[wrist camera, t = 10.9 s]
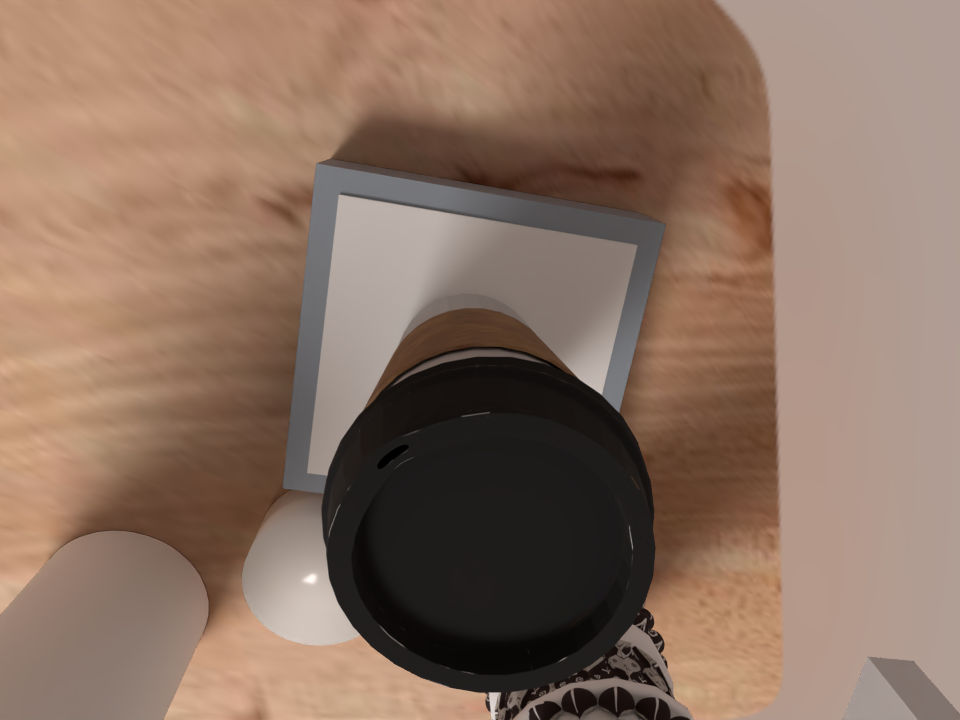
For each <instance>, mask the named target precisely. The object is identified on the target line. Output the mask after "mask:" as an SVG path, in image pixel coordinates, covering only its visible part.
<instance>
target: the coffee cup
mask: <svg viewBox="0 0 960 720" xmlns="http://www.w3.org/2000/svg"><path fill="white" fill-rule="evenodd" d="M321 513H322V529H323V539H324V543H325V546H326V558H327V566H328V574H329V581H330V583H331V586H332V589H333V591H334V594H335V597H336V599H337V602H338V604H339V606H340V607H341V609H342V611H343V612H344V614H345V615H346V617H347V618H348V620H349V621H350V623H351V625H352V626H353V627H354V629H355V630H356V631H357V632H358V633H359V634H360V635H361V636H362V637H363V638H364V639H365V640H366V641H367V642H368V643H369V644H370V646H371V647H373V648H374V649H375V650H377V651H378V652H379V653H381V654H382V655H383V656H385V657H386V658H387V659H389V660H390V661H391V662H393V663H394V664H396V665H397V666H399V667H401V668H403V669H405V670H407V671H409V672H411V673H413V674H415V675H417V676H419V677H421V678H423V679H426V680H429V681H432V682H435V683H438V684H441V685H444V686H446V687H449V688H455V689H461V690H467V691H473V692H479V693H509V692H516V691H522V690H528V689H534V688H539V687H542V686H545V685H548V684H551V683H554V682H557V681H560V680H563V679H566V678H568V677H570V676H572V675H574V674H575V673H577V672H579V671H581V670H583V669H585V668H587V667H588V666H590V665H592V664H593V663H594V662H596V661H597V660H598V659H599V658H601V657H602V656H603V655H604V654H605V653H607V652H608V651H609V650H610V649H612V648H613V647H614V646H615V645H616V643H617V642H618V641H619V640H620V639H621V638H622V636H623V635H624V634H625V633H626V632H627V631H628V629H629V628H630V627H631V626H632V624H633V622H634V620H635V619H636V617H637V615H638V613H639V611H640V610H641V608H642V606H643V604H644V603H645V600H646V597H647V593H648V590H649V587H650V584H651V581H652V577H653V571H654V558H655V541H654V534H653V520H654V506H653V497H652V489H651V481H650V478H649V476H648V473H647V469H646V466H645V463H644V460H643V457H642V454H641V451H640V448H639V445H638V442H637V440H636V438H635V437H634V435H633V433H632V432H631V430H630V428H629V427H628V425H627V423H626V422H625V420H624V419H623V417H622V416H621V414H620V413H619V412H618V411H617V410H616V409H615V408H614V407H613V406H612V405H611V404H610V403H609V402H608V401H607V400H606V399H605V398H604V397H603V396H602V395H601V394H600V393H598V392H597V391H596V390H594V389H593V388H591V387H590V386H588V385H587V384H585V383H584V382H582V381H581V380H580V379H579V378H578V377H577V376H576V375H575V374H574V373H573V372H572V371H571V370H570V369H569V368H568V367H567V366H566V365H565V364H564V363H563V362H562V361H561V360H560V359H559V358H558V357H557V356H556V355H555V353H554V352H553V351H552V350H551V349H550V348H549V347H548V346H547V345H546V344H545V343H544V342H543V341H542V340H541V339H540V338H539V337H538V336H537V335H536V334H535V333H534V332H533V331H532V329H531V328H530V327H529V326H528V325H527V323H526V322H525V321H524V320H523V319H522V318H521V317H520V316H519V315H518V314H517V313H516V312H515V311H514V310H512V309H511V308H509V307H508V306H506V305H505V304H503V303H501V302H499V301H497V300H494V299H492V298H489V297H485V296H480V295H457V296H451V297H447V298H444V299H442V300H439V301H437V302H434V303H433V304H431V305H430V306H428V307H426V308H425V309H423V310H422V311H421V312H420V313H419V314H418V315H417V316H416V317H415V318H414V319H413V320H412V321H411V323H410V324H409V326H408V327H407V328H406V330H405V331H404V333H403V335H402V338H401V340H400V342H399V345H398V347H397V349H396V350H395V352H394V353H393V355H392V357H391V359H390V361H389V363H388V365H387V366H386V368H385V370H384V372H383V374H382V376H381V378H380V380H379V381H378V383H377V385H376V387H375V389H374V391H373V393H372V395H371V396H370V398H369V400H368V402H367V404H366V406H365V408H364V409H363V411H362V412H361V413H360V414H359V415H358V417H357V418H356V419H355V421H354V422H353V424H352V425H351V427H350V428H349V429H348V431H347V432H346V434H345V435H344V437H343V438H342V439H341V441H340V443H339V446H338V448H337V450H336V453H335V455H334V457H333V460H332V462H331V464H330V467H329V470H328V475H327V478H326V483H325V489H324V495H323V501H322V507H321Z"/></svg>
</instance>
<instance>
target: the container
mask: <svg viewBox="0 0 960 720" xmlns="http://www.w3.org/2000/svg"><path fill="white" fill-rule="evenodd" d="M208 614H209V601H208V597H207V592H206V588H205V586H204V584H203V582H202V579H201V577H200V575H199V574H198V572H197V571H196V569H195V568H194V567H193V566H192V564H191V563H190V562H189V561H188V560H187V559H186V558H185V557H184V556H183V555H182V554H180V553H179V552H178V551H176V550H175V549H174V548H172V547H171V546H169V545H167V544H165V543H164V542H162V541H159V540H157V539H155V538H152V537H150V536H147V535H142V534H138V533H134V532H128V531H103V532H96V533H92V534H88V535H84V536H81V537H79V538H76V539H74V540H72V541H71V542H69V543H67V544H66V545H64V546H63V547H61V548H60V549H59V550H58V551H57V552H56V553H55V554H54V555H53V556H52V557H51V558H50V559H49V560H48V562H47V563H46V564H45V565H44V566H43V567H42V568H41V569H40V571H39V572H38V573H37V574H36V575H35V576H34V577H33V579H32V580H31V581H30V582H29V583H28V584H27V585H26V586H25V588H24V589H23V590H22V591H21V592H20V593H19V594H18V595H17V597H16V598H15V599H14V600H13V601H12V602H11V603H10V604H9V606H8V607H7V608H6V609H5V610H4V611H3V612H2V613H1V615H0V720H163V719H164V717H165V715H166V713H167V711H168V708H169V706H170V704H171V702H172V700H173V697H174V695H175V693H176V691H177V689H178V686H179V684H180V682H181V680H182V678H183V675H184V673H185V671H186V669H187V667H188V665H189V662H190V660H191V658H192V656H193V654H194V651H195V649H196V647H197V645H198V643H199V640H200V638H201V636H202V634H203V632H204V629H205V627H206V623H207V619H208Z"/></svg>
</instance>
